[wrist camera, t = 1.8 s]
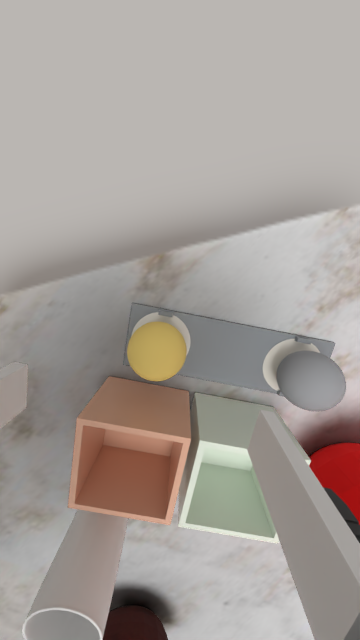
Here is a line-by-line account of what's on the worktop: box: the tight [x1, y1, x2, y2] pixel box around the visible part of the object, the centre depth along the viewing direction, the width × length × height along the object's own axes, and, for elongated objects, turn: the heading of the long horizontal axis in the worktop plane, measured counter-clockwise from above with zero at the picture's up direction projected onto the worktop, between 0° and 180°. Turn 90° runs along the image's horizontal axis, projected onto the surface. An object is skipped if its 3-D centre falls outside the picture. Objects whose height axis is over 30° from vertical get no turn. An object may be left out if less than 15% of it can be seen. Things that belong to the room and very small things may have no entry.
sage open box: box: [178, 392, 311, 544], centre depth 22 cm, size 10×10×8 cm
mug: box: [22, 509, 129, 640], centre depth 23 cm, size 10×7×12 cm, turn 177°
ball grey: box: [276, 351, 346, 411], centre depth 20 cm, size 6×6×6 cm
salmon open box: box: [68, 376, 191, 525], centre depth 22 cm, size 10×10×8 cm
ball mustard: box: [127, 321, 187, 381], centre depth 20 cm, size 6×6×6 cm
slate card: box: [123, 303, 335, 397], centre depth 23 cm, size 24×8×1 cm, turn 79°
